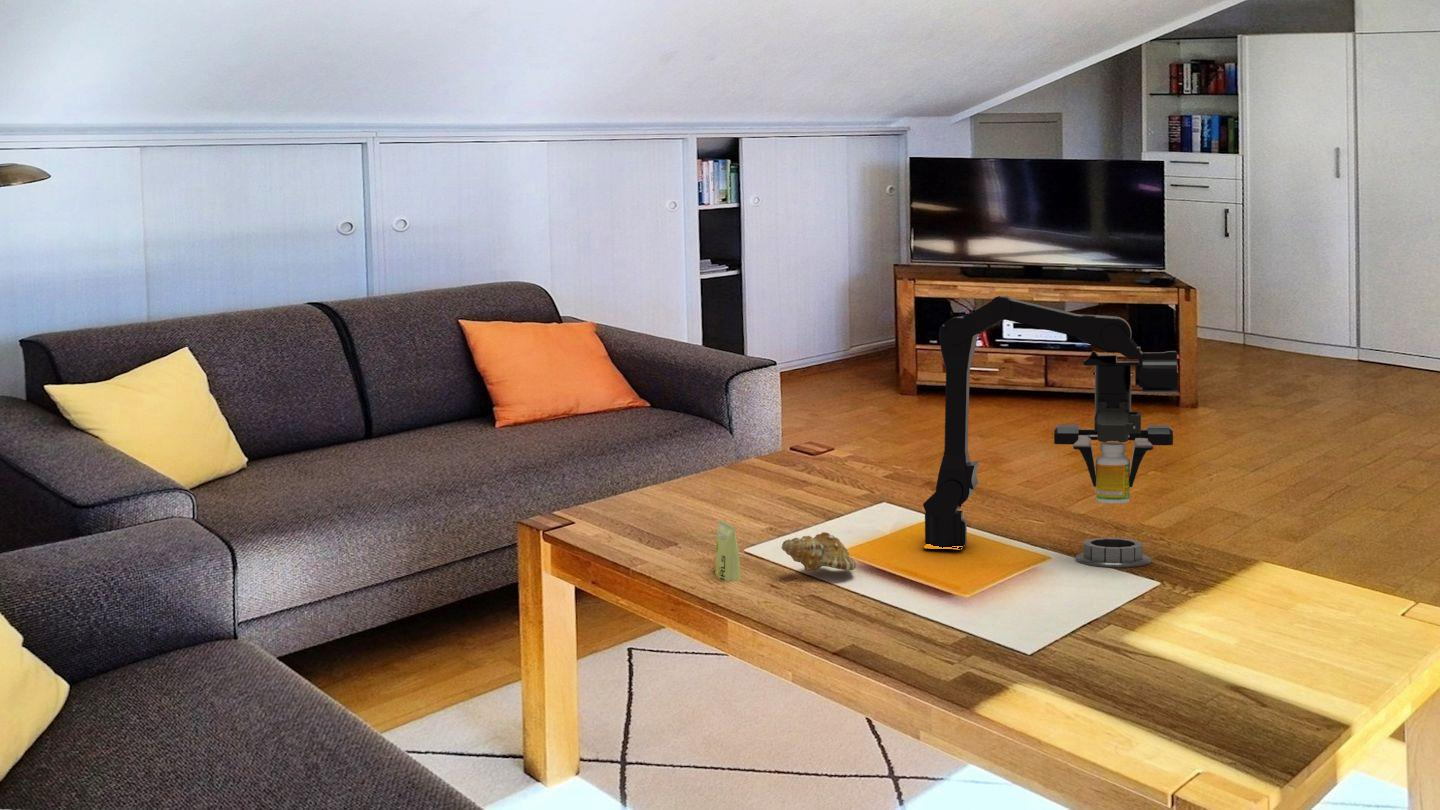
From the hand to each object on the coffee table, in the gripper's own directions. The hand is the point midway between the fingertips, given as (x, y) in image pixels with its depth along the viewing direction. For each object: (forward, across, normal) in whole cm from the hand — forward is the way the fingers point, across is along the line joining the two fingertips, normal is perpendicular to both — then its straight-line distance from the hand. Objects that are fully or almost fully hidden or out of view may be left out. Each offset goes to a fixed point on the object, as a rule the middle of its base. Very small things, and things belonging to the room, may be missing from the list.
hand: (1112, 486), depth 223 cm
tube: (+24, -61, -20) cm, 69 cm away
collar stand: (+12, 0, 0) cm, 12 cm away
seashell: (+14, -44, -17) cm, 49 cm away
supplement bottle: (+3, 0, 0) cm, 3 cm away
